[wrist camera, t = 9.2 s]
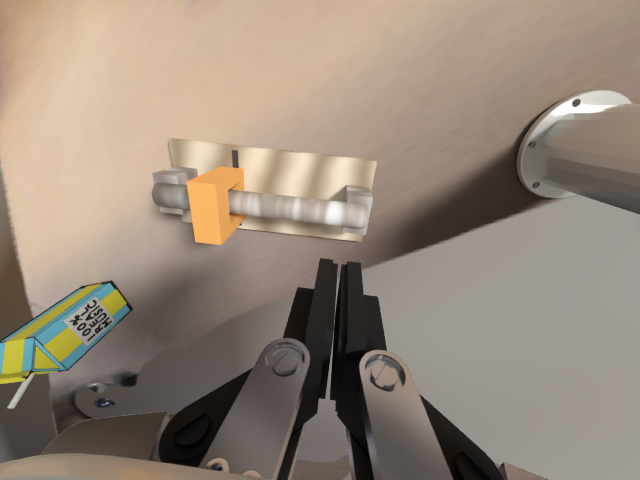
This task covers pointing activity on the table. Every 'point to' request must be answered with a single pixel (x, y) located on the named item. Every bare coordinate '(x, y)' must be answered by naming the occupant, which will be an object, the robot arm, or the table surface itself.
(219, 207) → the collar
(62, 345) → the carton
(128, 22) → the table surface
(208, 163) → the pipe rig
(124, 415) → the robot arm
